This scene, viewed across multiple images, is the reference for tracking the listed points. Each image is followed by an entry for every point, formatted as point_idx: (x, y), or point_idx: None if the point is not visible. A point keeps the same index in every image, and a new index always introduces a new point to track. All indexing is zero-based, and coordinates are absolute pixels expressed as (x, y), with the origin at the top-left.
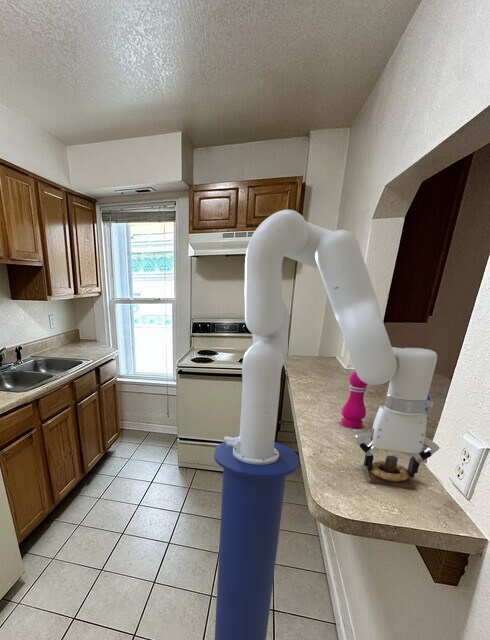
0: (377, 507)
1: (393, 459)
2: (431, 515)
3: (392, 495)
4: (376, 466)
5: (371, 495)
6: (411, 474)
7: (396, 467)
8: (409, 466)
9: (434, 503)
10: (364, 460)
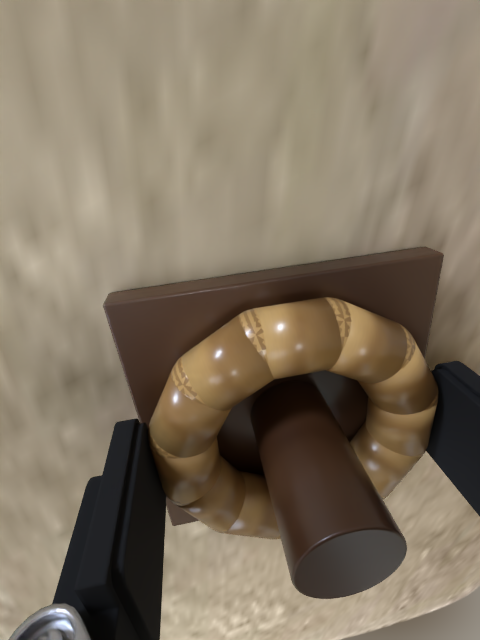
0: (215, 629)
1: (354, 591)
2: (389, 581)
3: (280, 545)
4: (203, 479)
5: (191, 585)
6: (437, 456)
7: (366, 387)
8: (472, 433)
9: (436, 515)
10: (84, 510)
